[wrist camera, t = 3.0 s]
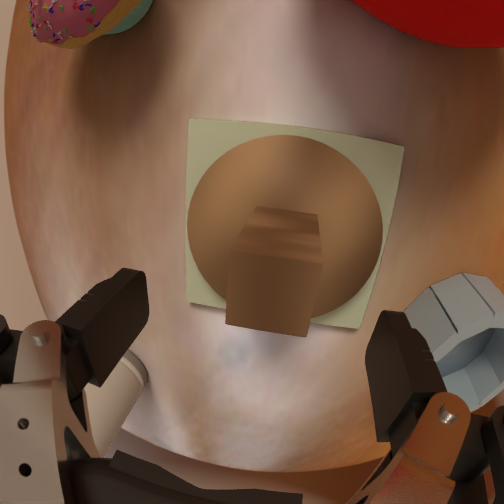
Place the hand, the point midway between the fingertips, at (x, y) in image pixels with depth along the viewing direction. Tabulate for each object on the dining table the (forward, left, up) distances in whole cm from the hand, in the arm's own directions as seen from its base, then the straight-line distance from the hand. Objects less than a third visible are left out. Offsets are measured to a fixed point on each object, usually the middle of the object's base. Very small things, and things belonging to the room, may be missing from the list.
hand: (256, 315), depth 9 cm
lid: (0, 0, -8) cm, 8 cm away
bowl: (-14, +6, -9) cm, 18 cm away
